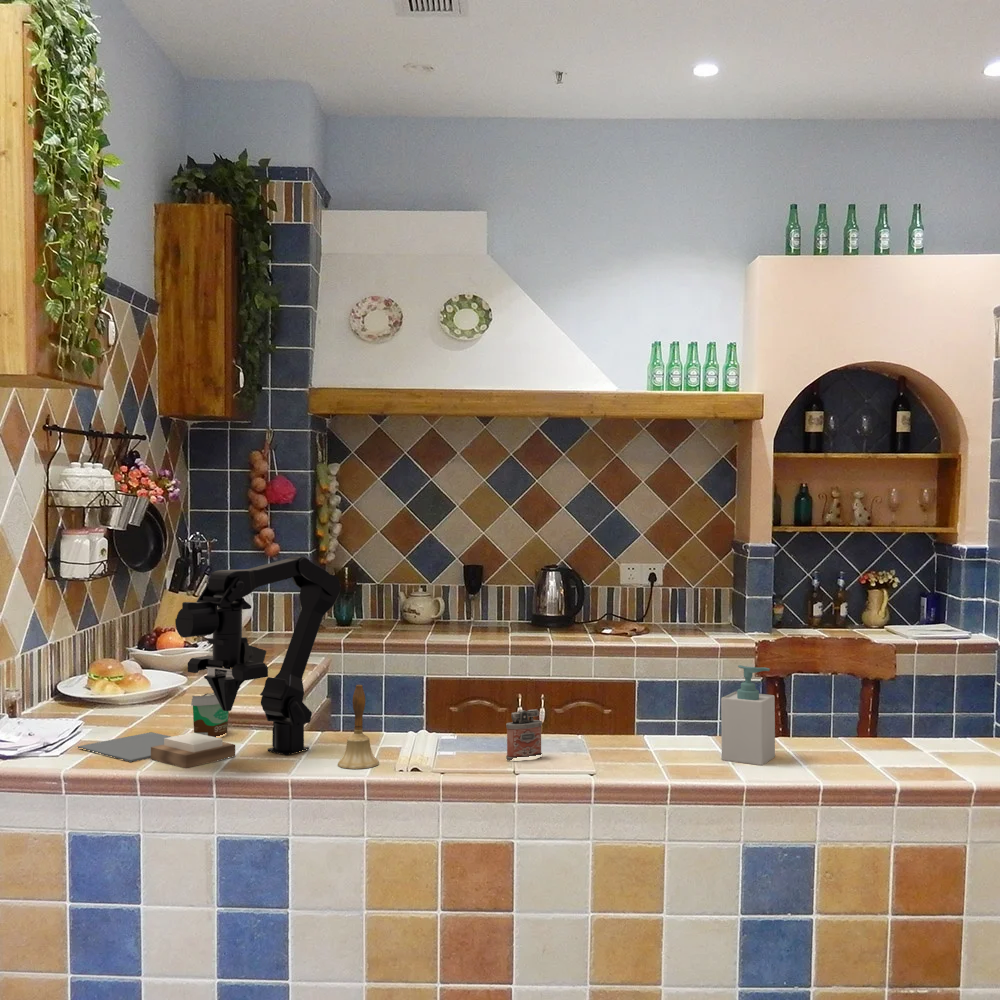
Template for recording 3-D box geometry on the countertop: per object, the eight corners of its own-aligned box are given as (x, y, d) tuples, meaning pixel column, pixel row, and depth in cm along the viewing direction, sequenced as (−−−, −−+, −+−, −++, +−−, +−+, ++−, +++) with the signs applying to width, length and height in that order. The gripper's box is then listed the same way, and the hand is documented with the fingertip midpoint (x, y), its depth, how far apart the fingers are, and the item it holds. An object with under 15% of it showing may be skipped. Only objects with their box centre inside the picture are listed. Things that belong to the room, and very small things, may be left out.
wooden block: (235, 756, 207) (235, 744, 207) (185, 768, 197) (186, 755, 197) (199, 748, 214) (200, 736, 214) (150, 759, 204) (150, 747, 205)
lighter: (510, 762, 202) (510, 713, 202) (503, 759, 205) (503, 710, 205) (545, 758, 205) (545, 709, 206) (537, 754, 208) (537, 707, 209)
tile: (222, 746, 205) (222, 738, 205) (193, 752, 200) (193, 744, 200) (192, 739, 211) (193, 732, 212) (164, 745, 206) (164, 738, 206)
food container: (216, 742, 220) (216, 697, 220) (190, 741, 221) (191, 696, 221) (241, 731, 232) (241, 688, 232) (217, 729, 233) (217, 687, 233)
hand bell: (339, 759, 204) (339, 682, 205) (380, 759, 205) (380, 681, 205) (335, 770, 196) (336, 688, 196) (378, 769, 197) (378, 688, 197)
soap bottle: (763, 766, 199) (763, 670, 199) (721, 760, 204) (720, 667, 204) (776, 757, 206) (775, 665, 207) (734, 752, 211) (734, 662, 211)
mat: (204, 746, 216) (204, 743, 216) (130, 762, 202) (130, 759, 202) (151, 734, 228) (151, 732, 228) (77, 748, 214) (77, 746, 214)
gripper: (289, 632, 200) (289, 710, 200) (230, 626, 212) (230, 699, 211) (244, 637, 191) (244, 719, 191) (186, 631, 203) (185, 707, 202)
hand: (227, 710), depth 199 cm, fingers closed
